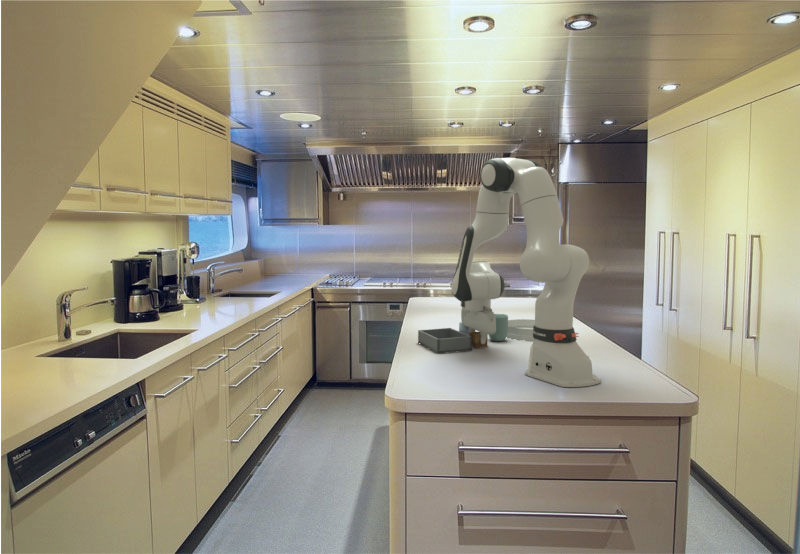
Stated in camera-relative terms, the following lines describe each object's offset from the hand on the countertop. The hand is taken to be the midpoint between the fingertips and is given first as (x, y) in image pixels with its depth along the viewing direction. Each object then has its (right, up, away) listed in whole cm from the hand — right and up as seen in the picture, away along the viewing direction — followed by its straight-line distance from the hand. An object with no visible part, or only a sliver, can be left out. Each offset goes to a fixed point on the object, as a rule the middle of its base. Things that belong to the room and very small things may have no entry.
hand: (478, 341), depth 195 cm
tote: (-13, -2, 0) cm, 13 cm away
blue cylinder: (-4, -1, +10) cm, 10 cm away
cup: (+9, -1, +10) cm, 14 cm away
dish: (+24, 0, +20) cm, 31 cm away
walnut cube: (0, -2, 0) cm, 2 cm away
